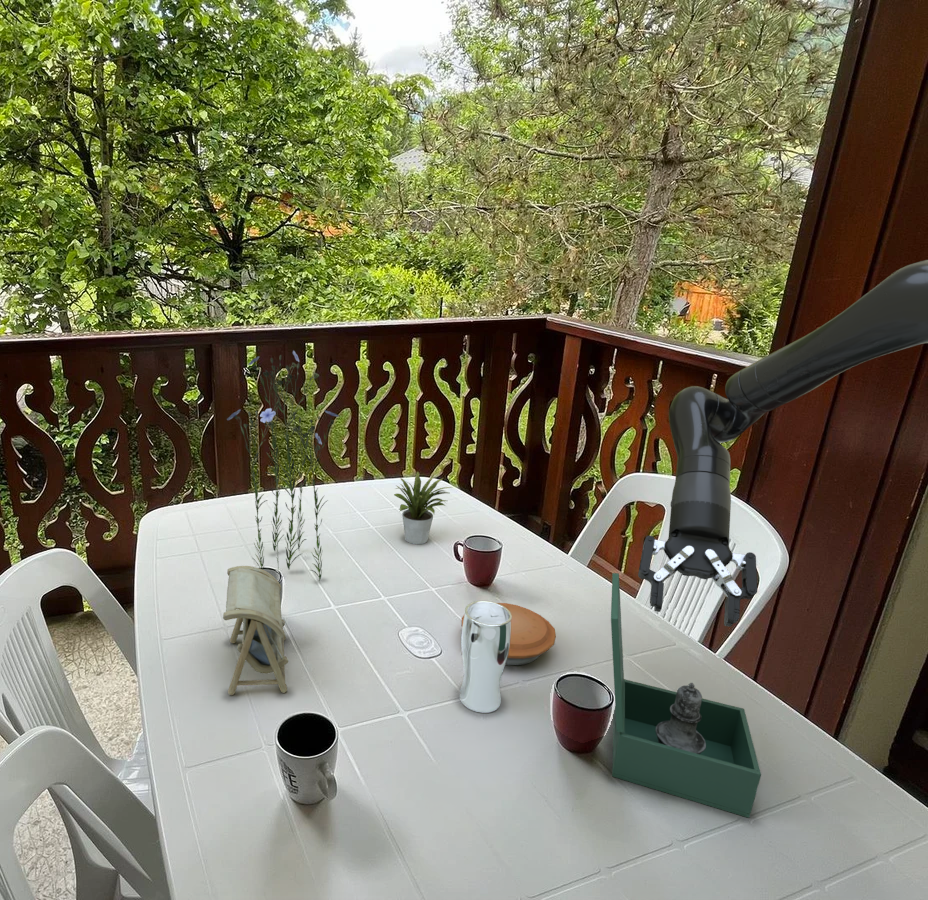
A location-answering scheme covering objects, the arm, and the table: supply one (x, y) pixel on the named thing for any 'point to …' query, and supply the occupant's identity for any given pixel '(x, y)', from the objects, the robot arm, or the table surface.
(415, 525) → the house plant
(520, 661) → the pie
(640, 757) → the green open box
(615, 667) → the lid
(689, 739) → the stone chess piece
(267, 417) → the wildflower
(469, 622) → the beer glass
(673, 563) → the robot arm
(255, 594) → the swing bench
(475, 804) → the table surface
